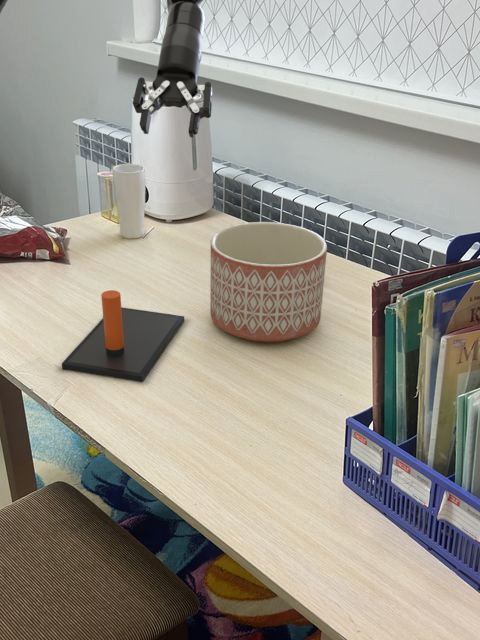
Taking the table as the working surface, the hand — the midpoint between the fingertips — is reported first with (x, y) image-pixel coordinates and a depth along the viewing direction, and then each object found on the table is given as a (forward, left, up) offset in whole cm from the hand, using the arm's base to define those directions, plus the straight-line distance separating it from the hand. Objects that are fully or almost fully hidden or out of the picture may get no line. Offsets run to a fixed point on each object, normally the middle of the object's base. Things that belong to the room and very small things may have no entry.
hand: (168, 133), depth 126 cm
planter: (+23, -17, -27) cm, 39 cm away
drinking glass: (-14, +14, -27) cm, 34 cm away
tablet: (+3, -31, -27) cm, 41 cm away
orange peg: (+3, -35, -26) cm, 44 cm away
